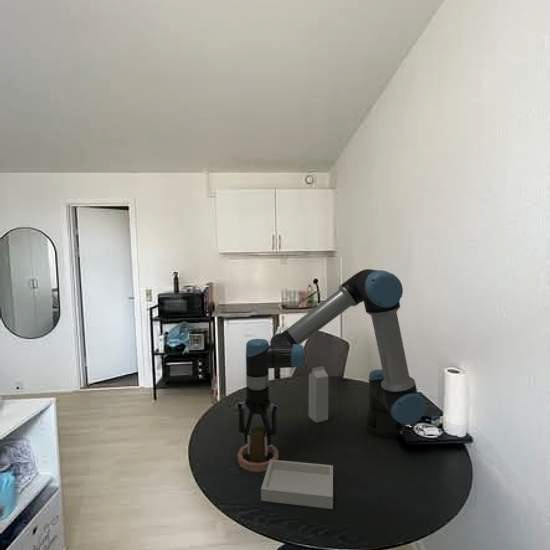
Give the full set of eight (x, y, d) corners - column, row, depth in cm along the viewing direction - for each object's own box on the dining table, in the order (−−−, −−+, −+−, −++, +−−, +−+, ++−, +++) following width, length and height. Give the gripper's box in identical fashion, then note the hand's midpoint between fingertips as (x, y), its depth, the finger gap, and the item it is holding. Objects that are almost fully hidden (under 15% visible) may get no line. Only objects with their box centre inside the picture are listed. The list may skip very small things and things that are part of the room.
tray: (332, 476, 108) (332, 465, 107) (332, 509, 94) (332, 496, 94) (270, 469, 111) (270, 459, 111) (261, 500, 97) (261, 488, 97)
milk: (308, 417, 146) (308, 366, 145) (320, 413, 149) (320, 364, 148) (316, 423, 141) (316, 370, 139) (328, 419, 144) (328, 368, 142)
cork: (253, 466, 112) (253, 434, 112) (246, 457, 118) (246, 426, 117) (270, 461, 115) (269, 429, 115) (262, 452, 121) (262, 421, 120)
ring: (280, 449, 122) (280, 443, 122) (274, 473, 109) (274, 467, 109) (244, 446, 124) (244, 440, 124) (233, 469, 111) (233, 463, 111)
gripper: (285, 383, 117) (286, 448, 119) (234, 380, 120) (235, 444, 122) (282, 392, 110) (283, 462, 111) (228, 388, 113) (229, 456, 114)
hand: (258, 452), depth 116 cm, fingers closed on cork, 5 cm apart
